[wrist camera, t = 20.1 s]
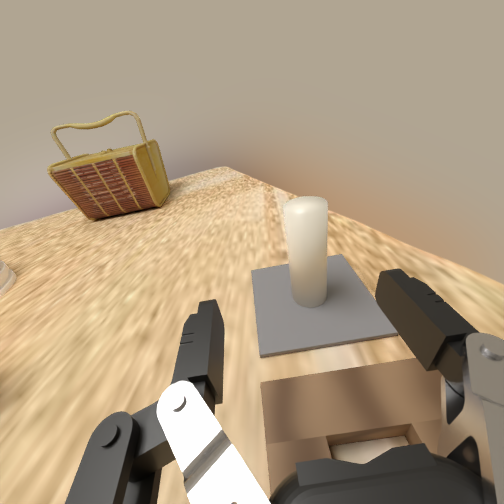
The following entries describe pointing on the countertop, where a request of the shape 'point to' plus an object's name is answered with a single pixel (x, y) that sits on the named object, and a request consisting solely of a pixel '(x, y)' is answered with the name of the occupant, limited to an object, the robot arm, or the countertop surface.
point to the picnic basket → (112, 175)
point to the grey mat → (315, 311)
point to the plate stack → (6, 278)
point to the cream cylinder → (307, 248)
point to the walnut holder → (348, 411)
